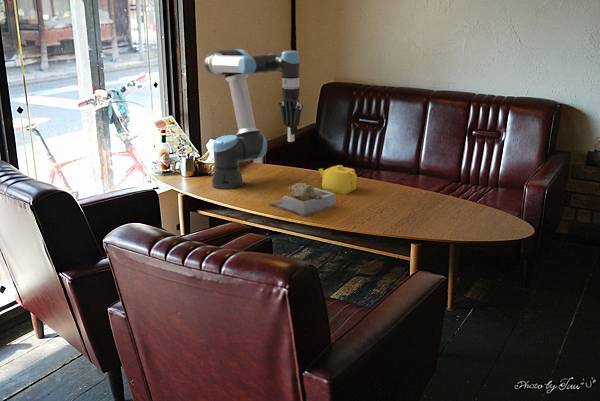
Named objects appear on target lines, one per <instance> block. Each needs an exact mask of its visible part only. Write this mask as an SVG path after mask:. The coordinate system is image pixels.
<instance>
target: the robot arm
mask: <svg viewBox="0 0 600 401" xmlns="http://www.w3.org/2000/svg"><path fill="white" fill-rule="evenodd" d="M300 61H301V60H300V53H299V51H297V50H283V51H282V52H281V53H275V52H274V53H269V54H260V55H258V54H257V55H249V53H248V52H247V51H246V50H244V49H239V48H238V49H236V48H233V49H224V50H223V49H221V50H220V49H219V50H212V51H211V52H209V53H208V54H207V55H205V56H204V59H203V65H204V67H203V68H204V70H206V72H207V73H209V74H211V75H213V76H224V79H225V81H226V82H228V84H229V85H228V86H229V90H230V94H231V100H232V104H233V110H234V115H235V121H236V126H237V129H238V131H237V133H236V134H229V135H222V136H219V137H217V138H216V139H215V140H214V141H213V160H214V161H213V162H214V170H213V171H214V172H213V175H212V179H211V186H212V187H213V188H216V189H222V190H223V189H225V190H226V189H227V190H229V189H230V190H231V189H235V188H240V187H242V186H244V179H243V176H242V174H241V170H240V164H239V163H240V162H246V161H252V160H254V161H255V160H257V159H262V158H263V157H264V156H265V155H266V153H267V151H268V141H267V138H266V136H265V135H264V134H262V133H261V131H260V129H258V128H257V127H256V122H255V117H254V112H253V106H252V101H251V96H250V91H249V87H248V80H247V78H248V77H249V75H254V74H262V73H263V74H265V73H277V72H278V73H281V87H282V89H281V96H282V101H280V102H278V105H279V107H280V112H281V118H282V123H283V125H285V127H286V134H287V142H288V143H292V142H295V135H296V128H297V127H298V126H299V125H300V120H301V115H302V109H303V108H304V105H303V104H301V103H300V101H299V97H300V88H299V87H300V63H301V62H300Z"/></svg>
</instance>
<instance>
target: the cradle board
mask: <svg viewBox="0 0 600 401" xmlns="http://www.w3.org/2000/svg"><path fill="white" fill-rule="evenodd" d="M268 206H270V207H273V208H276V209H278V210H282V211H285V212H288V213H291V214H294V215H296V216H300V217H302V218H306V217H308V216H312V215H315V214H318V213H320V212H324V211H326V210H330V209H333V208H335V207H336V203H335V204H334V205H331V206H328V207H325V208H322V209H319V210H316V211H313V212H310V213H307V214H301V213H298V212H295V211H292V210H289V209H286V208H283V198H281V199H277V200H274V201H270V202H268Z"/></svg>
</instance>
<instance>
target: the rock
mask: <svg viewBox="0 0 600 401" xmlns="http://www.w3.org/2000/svg"><path fill="white" fill-rule="evenodd" d="M314 188H315V187H314V186H313V185H311V184H307V182H304V183H303V182H297V183H295V184H293V185H291V186H289V187H288V191H289V195H290V196H289V197H291V198H295V199H298V200H301V201H307V200H311V199H314V198H315V196H317V195H320V194H319V193H315V192H314Z"/></svg>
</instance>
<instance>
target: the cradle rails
mask: <svg viewBox="0 0 600 401" xmlns="http://www.w3.org/2000/svg"><path fill="white" fill-rule="evenodd" d="M314 192H315V193H319V194H320V195H317V196H315V198H314V199H311V200H307V201H301V200H298V199H295V198H291V197H290V196H287V195H283V196H282V199H283V208H286V209H289V210H292V211H295V212H298V213H301V214H307V213H310V212H313V211H316V210H319V209H322V208H325V207H328V206H331V205H334V204H335V205H336V193H332V192H328V191H324V190H323V189H320V188H317V187H314Z"/></svg>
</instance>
